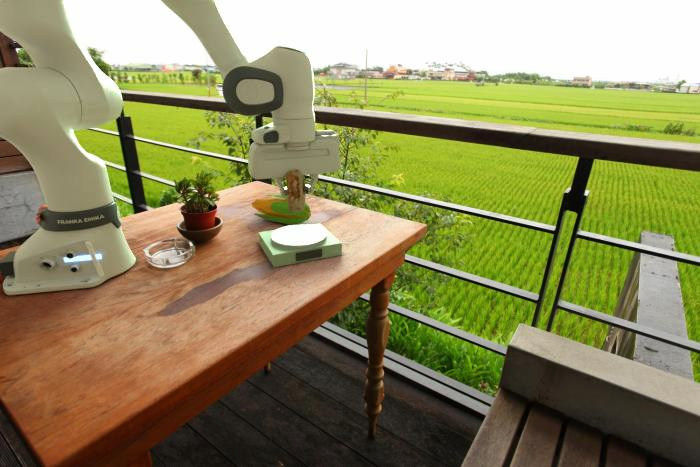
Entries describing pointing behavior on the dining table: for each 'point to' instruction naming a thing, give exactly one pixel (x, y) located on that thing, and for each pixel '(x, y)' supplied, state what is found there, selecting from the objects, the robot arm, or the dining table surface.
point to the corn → (280, 210)
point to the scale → (299, 244)
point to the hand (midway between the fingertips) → (297, 194)
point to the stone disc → (295, 191)
